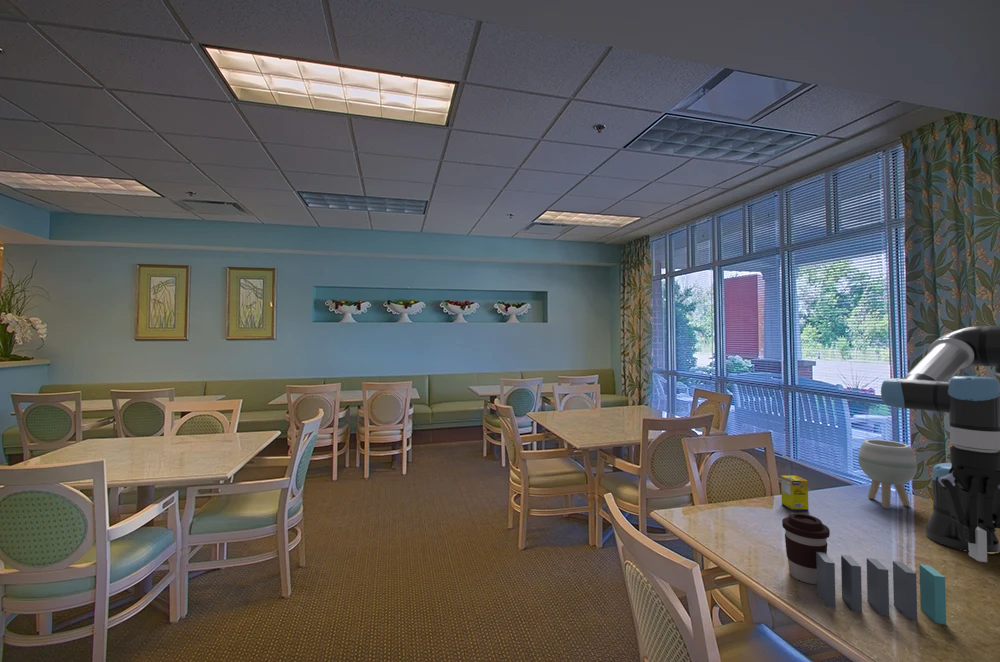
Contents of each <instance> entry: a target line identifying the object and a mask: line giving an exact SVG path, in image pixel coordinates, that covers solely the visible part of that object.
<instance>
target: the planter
mask: <svg viewBox="0 0 1000 662" xmlns="http://www.w3.org/2000/svg"><path fill="white" fill-rule="evenodd" d="M857 456H858V457H857V458H858V465H859V468H860V469H861V471H862V472H863V473H864V474H865V475H866V476H867V477H868V478H869V480H871V482H870V486H869V491H868V494H867V498H868V499H872V500H875V499H876V497H877V494H878V491H879V489H880V487H881V489H880V490H881V506H882V508H883V509H887V510H889V509H890V508H891V496H892V495H891V491H892V490H891V489H892V485H894V487H895V489H896V492H897V495H898V498H899V499H900V502H901V504H902V505H903V506H904V507H909V506H910V500H909V496H908V494H907V491H906V488H905V484H907V483H909V482H911V481H912V480H913V479H914V478H915V477H916V475H917V471H918V462H917V459H916V458H917V457H916V455H915V453H914V451H913V449H912V447H911V446H910V445H908V444H906V443H904V442H900V441H899V442H897V441H893V440H888V439H887V440H885V439H865V440H863V442H862V443H861V445H860V447H859V450H858V455H857Z"/></svg>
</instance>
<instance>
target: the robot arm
mask: <svg viewBox="0 0 1000 662" xmlns="http://www.w3.org/2000/svg"><path fill="white" fill-rule="evenodd" d="M970 366H973V367H975V366H976V367H977V366H979V367H980V366H981V367H994V369H995V370H994V371H995V374H996V375H997V376H999V377H1000V325H976V326H975V325H974V326H967V327H962V328H960V329H959V328H958V329H957V330H954V331H951V332H949V333H945V334H944V335H942V336H940V337H938V338H937V339H935V340H934V341H933V342H932V343H931V344H930V345H928V348H927V354H926V355H925V356H924V357H923V358H922V359H921V360H920V361H919V362H918V363H917V364H916V365H914V367H912V368H911V370H910V371H909V372H908V373H907V374H906V375H904V377H903V378H899V377H896V378H885V379H884V380H883V382H882V384H881V388H880V396H881V401H882V402H883V404H884V405H885V406H888V407H891V408H898V409H899V408H900V409H903V410H905V409H906V410H918V411H926V412H927V411H930V412H939V413H948V414H949V440H950V441H949V442H950V444H952V446H950V447H949V454H950V455H949V458H950V459H949V460H950V462H941V463H937V464H934V466H933V467H932V474H931V475H932V477H930V478H931V482H932V483H931V484H932V513H931V514H930V517H929V520H928V521H927V524H926V526H925V535H926V537H927V538H929V539H930V540H931V541H934V542H935V541H936V543H937V542H938V544H940V543H942V544H944V545H943V546H945V545H947V546H946V547H948V546H950V547H949V548H951V547H953V548H952V549H955V548H956V549H955V550H958V549H961V550H960V551H962V550H966V551H965V552H967V551H969V552H968V556H969V557H971V558H972V559H974V560H976V561H977V562H981V563H982V562H984V563H988V554H987V552H998V551H1000V540H999V539H998V536H997V534H996V531H997V530H996V529H1000V380H998V378H995V377H991V376H975V375H961V376H960V375H956V374H957V373H958V372H959V371H960V370H963V369H964V368H967V367H970ZM942 544H941V545H942Z"/></svg>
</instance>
